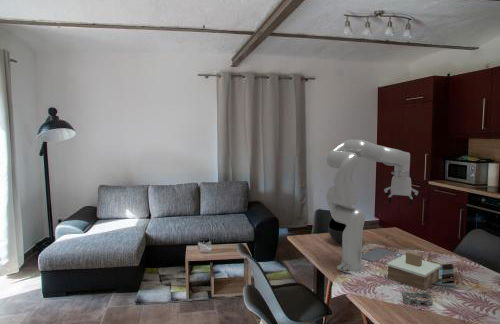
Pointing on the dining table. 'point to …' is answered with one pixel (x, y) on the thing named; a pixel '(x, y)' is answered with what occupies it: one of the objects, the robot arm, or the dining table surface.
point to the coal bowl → (336, 230)
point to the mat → (377, 254)
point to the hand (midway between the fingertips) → (400, 205)
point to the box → (413, 278)
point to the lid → (414, 264)
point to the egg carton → (413, 299)
